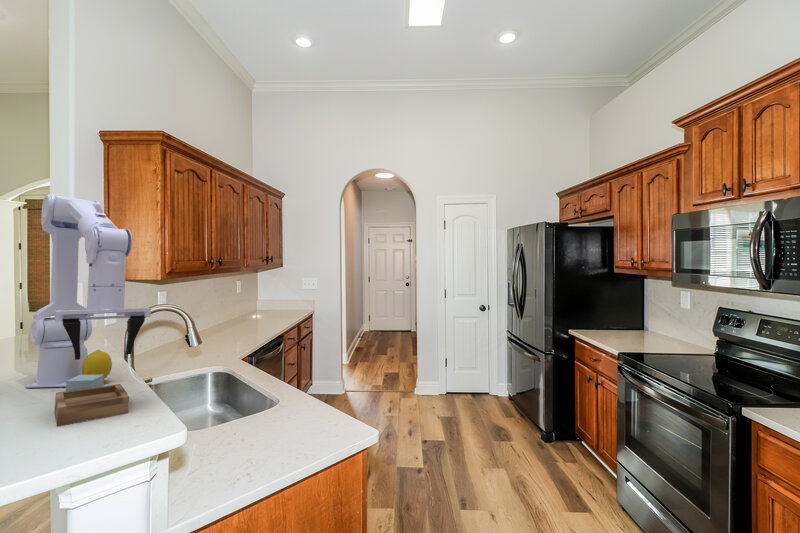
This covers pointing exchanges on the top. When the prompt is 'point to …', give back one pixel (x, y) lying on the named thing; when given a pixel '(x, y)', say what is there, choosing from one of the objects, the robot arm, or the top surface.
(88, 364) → the lemon
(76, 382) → the block
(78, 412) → the walnut base
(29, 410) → the top surface
